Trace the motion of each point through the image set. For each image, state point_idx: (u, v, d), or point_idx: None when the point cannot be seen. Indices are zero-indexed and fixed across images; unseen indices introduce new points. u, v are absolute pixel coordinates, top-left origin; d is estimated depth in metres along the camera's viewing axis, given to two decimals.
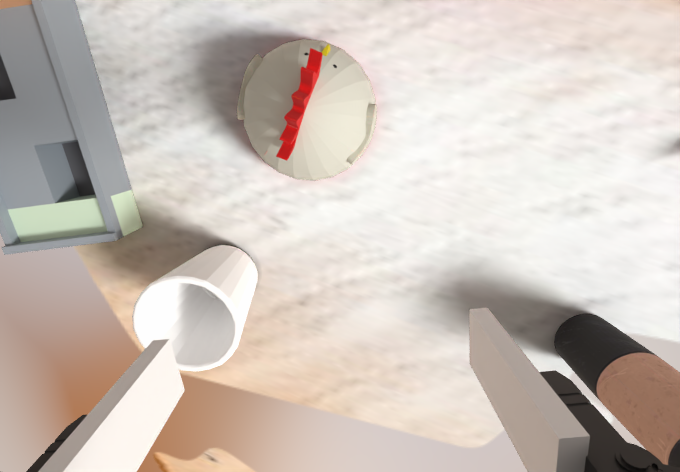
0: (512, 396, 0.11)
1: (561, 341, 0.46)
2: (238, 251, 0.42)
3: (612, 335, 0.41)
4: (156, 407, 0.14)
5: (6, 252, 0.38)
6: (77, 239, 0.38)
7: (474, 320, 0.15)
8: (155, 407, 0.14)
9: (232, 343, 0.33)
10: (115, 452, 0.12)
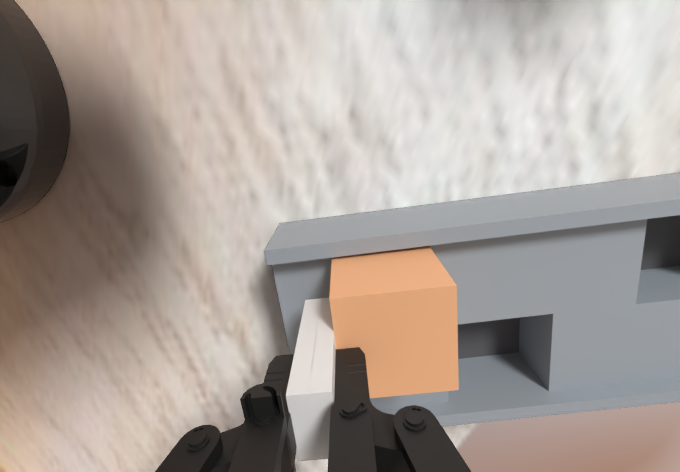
0: None
1: None
2: None
3: None
4: None
5: None
6: None
7: (319, 308, 0.17)
8: None
9: None
10: None
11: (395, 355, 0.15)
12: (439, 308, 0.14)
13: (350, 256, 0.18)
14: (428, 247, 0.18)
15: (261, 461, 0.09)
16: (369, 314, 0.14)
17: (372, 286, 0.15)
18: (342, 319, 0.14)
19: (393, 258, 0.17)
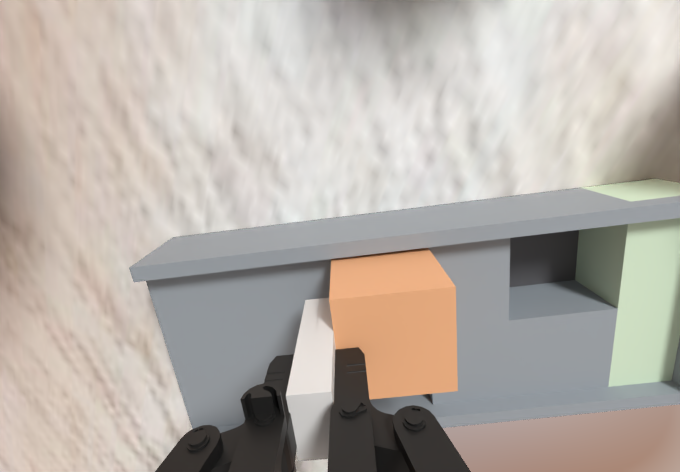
0: None
1: None
2: None
3: None
4: None
5: None
6: None
7: (319, 308, 0.17)
8: None
9: None
10: None
11: (394, 356, 0.15)
12: (438, 309, 0.14)
13: (349, 258, 0.18)
14: (427, 249, 0.18)
15: (261, 461, 0.09)
16: (368, 315, 0.14)
17: (371, 287, 0.15)
18: (342, 320, 0.15)
19: (392, 260, 0.17)
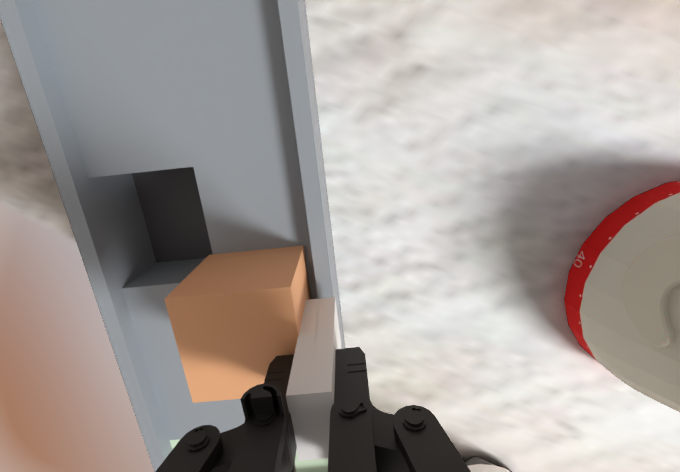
0: None
1: None
2: None
3: None
4: None
5: None
6: None
7: (319, 308, 0.17)
8: None
9: None
10: None
11: (227, 347, 0.15)
12: None
13: (304, 267, 0.18)
14: None
15: (261, 461, 0.09)
16: (274, 323, 0.14)
17: (299, 317, 0.15)
18: (267, 299, 0.14)
19: None
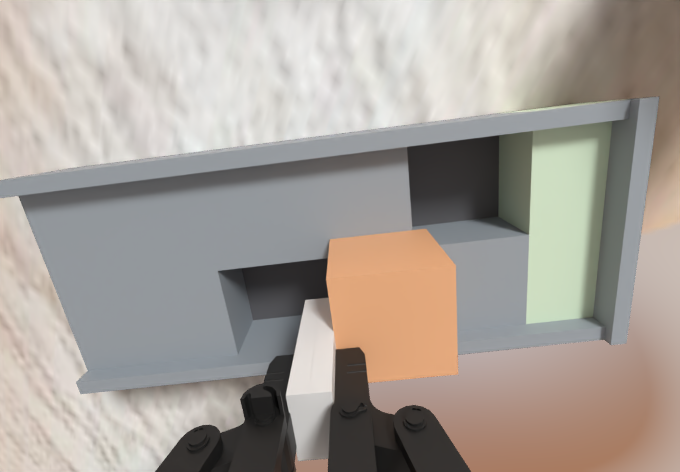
0: None
1: None
2: None
3: None
4: None
5: (623, 338, 0.19)
6: (632, 188, 0.16)
7: (319, 308, 0.17)
8: None
9: None
10: None
11: (393, 338, 0.15)
12: (438, 289, 0.14)
13: (348, 241, 0.18)
14: (427, 232, 0.18)
15: (261, 461, 0.09)
16: (366, 295, 0.14)
17: (369, 267, 0.15)
18: (340, 300, 0.14)
19: (391, 242, 0.17)
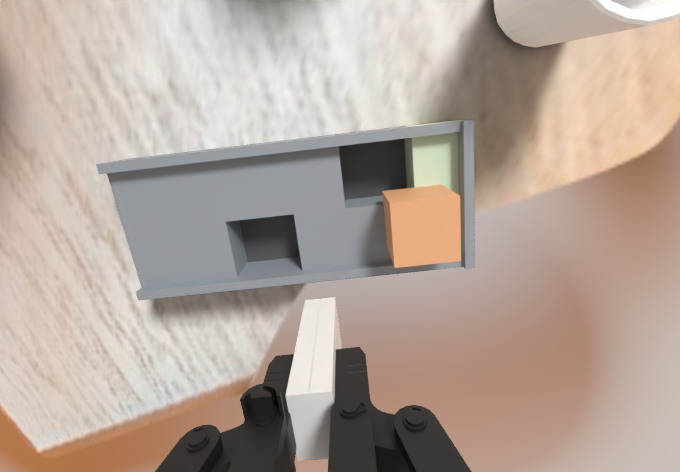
0: None
1: None
2: None
3: None
4: None
5: (472, 264, 0.31)
6: (466, 171, 0.28)
7: (319, 308, 0.17)
8: None
9: None
10: None
11: (425, 238, 0.26)
12: (450, 209, 0.26)
13: (394, 191, 0.30)
14: (442, 185, 0.30)
15: (261, 461, 0.09)
16: (411, 212, 0.26)
17: (412, 198, 0.26)
18: (396, 215, 0.26)
19: (421, 190, 0.29)
